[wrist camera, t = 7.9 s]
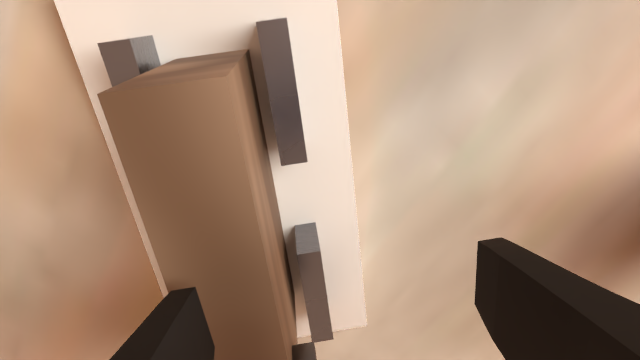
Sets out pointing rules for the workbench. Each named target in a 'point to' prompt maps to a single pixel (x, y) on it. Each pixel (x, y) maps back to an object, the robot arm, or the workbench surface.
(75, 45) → the cabinet panel
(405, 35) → the workbench surface
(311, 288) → the hinge clips
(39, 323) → the workbench surface
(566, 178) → the workbench surface
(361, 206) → the workbench surface
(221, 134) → the brown wooden block
